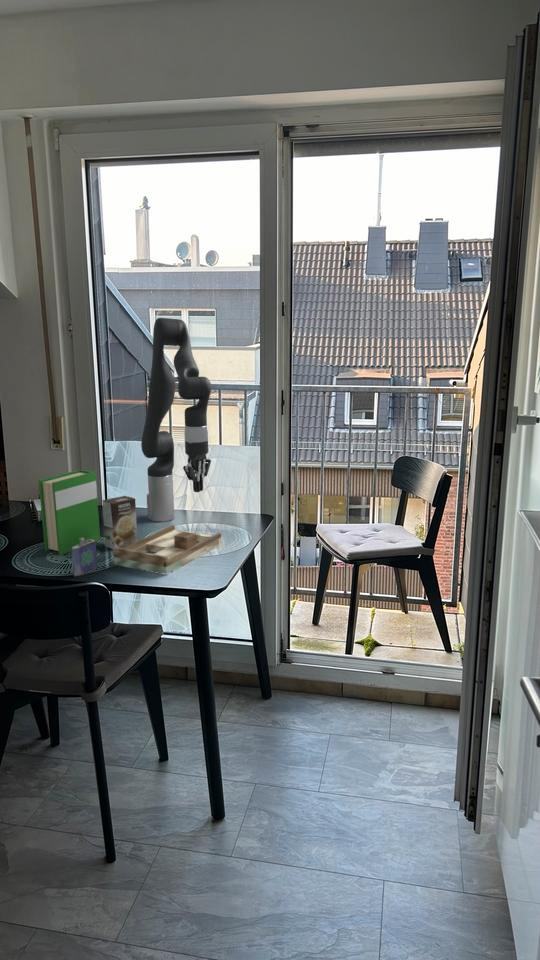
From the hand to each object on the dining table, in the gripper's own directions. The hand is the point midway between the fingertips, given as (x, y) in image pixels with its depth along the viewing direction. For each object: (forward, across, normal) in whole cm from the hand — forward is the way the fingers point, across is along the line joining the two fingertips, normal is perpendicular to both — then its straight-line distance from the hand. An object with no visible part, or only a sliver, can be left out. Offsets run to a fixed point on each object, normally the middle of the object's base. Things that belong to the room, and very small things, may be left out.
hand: (198, 491), depth 226 cm
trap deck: (+19, +11, -4) cm, 22 cm away
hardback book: (+19, +18, -40) cm, 47 cm away
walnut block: (+17, +8, 0) cm, 19 cm away
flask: (+19, +35, -18) cm, 44 cm away
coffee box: (+19, +11, -24) cm, 33 cm away
